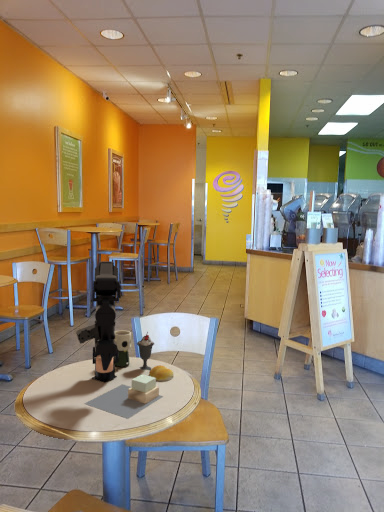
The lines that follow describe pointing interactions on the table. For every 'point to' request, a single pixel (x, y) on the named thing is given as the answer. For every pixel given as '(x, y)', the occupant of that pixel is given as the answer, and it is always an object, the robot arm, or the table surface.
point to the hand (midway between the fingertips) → (104, 367)
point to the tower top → (143, 383)
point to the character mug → (123, 346)
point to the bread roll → (161, 373)
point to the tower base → (143, 395)
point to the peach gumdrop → (100, 368)
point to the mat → (119, 402)
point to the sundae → (145, 350)
